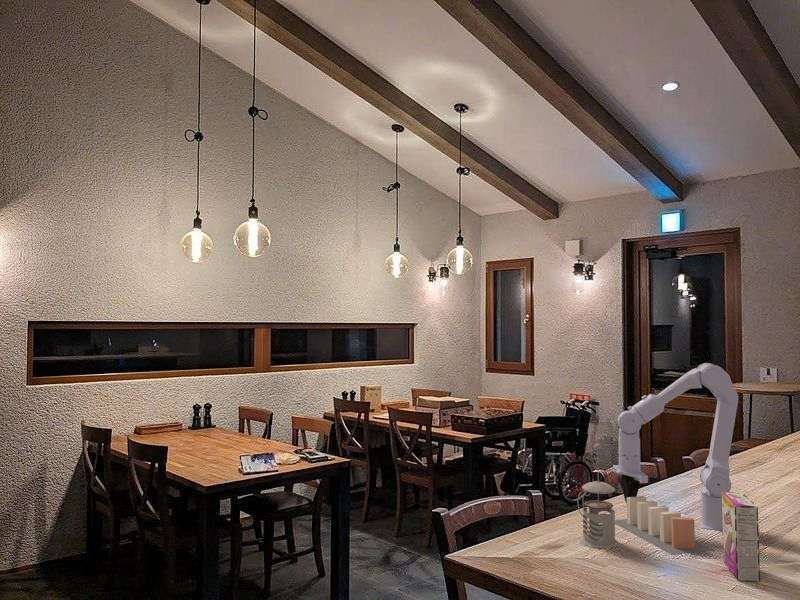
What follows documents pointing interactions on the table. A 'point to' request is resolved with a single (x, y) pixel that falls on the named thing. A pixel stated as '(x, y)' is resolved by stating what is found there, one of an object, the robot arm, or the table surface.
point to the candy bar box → (741, 536)
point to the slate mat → (656, 541)
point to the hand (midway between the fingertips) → (630, 503)
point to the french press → (598, 516)
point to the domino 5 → (683, 532)
